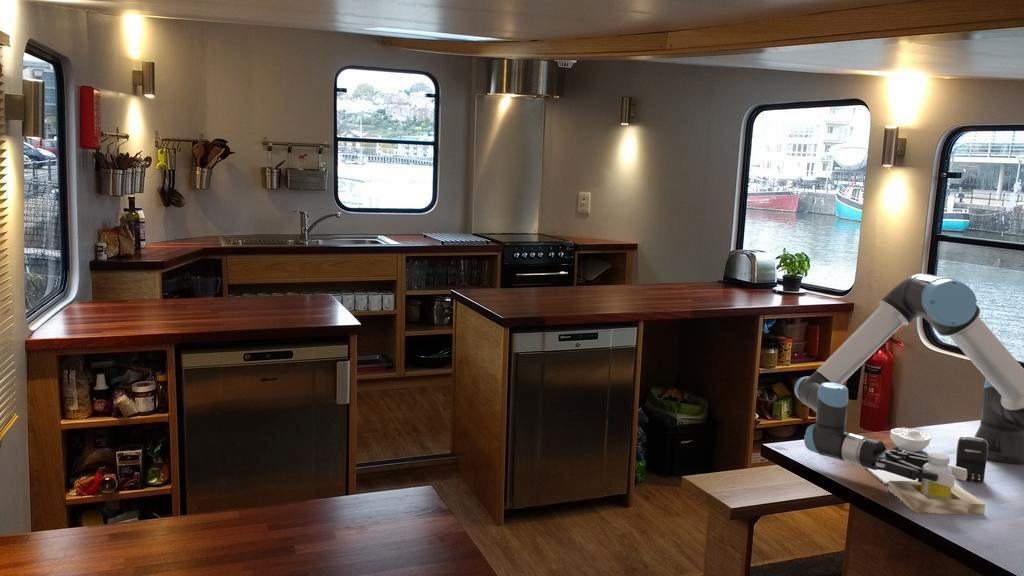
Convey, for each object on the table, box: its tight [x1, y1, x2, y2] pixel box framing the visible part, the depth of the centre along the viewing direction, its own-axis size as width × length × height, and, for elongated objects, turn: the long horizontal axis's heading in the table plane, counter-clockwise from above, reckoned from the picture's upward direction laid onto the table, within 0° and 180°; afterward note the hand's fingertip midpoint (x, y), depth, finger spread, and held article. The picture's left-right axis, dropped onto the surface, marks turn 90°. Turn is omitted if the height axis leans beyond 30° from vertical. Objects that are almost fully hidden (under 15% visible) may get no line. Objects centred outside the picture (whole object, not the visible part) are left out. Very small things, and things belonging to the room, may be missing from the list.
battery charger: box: [955, 435, 988, 484], centre depth 209 cm, size 7×4×11 cm, turn 61°
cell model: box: [889, 427, 933, 453], centre depth 234 cm, size 10×12×7 cm
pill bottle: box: [920, 452, 953, 499], centre depth 194 cm, size 6×6×12 cm
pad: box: [863, 467, 918, 485], centre depth 212 cm, size 14×12×1 cm
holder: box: [887, 481, 986, 515], centre depth 195 cm, size 16×14×2 cm
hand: (959, 478), depth 190 cm, fingers closed on pill bottle, 6 cm apart
